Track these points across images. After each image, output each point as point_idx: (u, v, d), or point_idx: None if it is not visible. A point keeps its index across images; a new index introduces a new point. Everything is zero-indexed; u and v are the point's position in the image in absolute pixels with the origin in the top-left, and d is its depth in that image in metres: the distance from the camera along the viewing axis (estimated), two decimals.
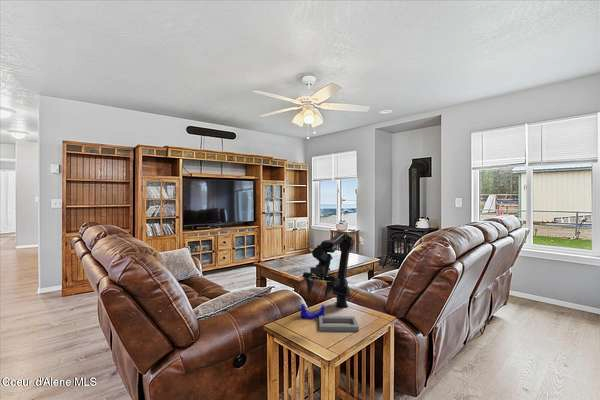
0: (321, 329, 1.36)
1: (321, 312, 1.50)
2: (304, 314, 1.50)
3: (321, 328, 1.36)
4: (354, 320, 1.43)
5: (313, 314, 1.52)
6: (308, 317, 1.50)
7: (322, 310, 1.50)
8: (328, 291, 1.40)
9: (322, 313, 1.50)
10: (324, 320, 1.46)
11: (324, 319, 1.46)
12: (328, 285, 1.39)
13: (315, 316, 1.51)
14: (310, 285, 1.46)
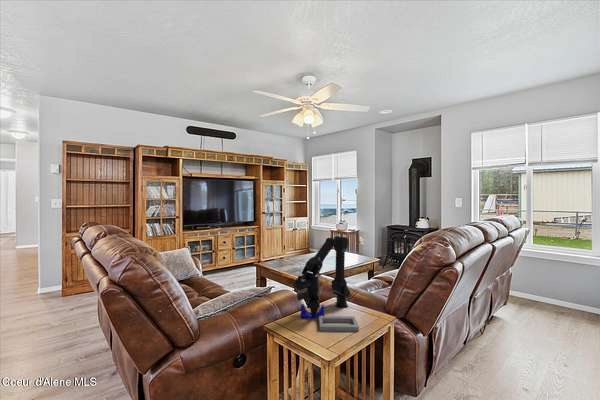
0: (321, 329, 1.36)
1: (321, 312, 1.50)
2: (304, 314, 1.50)
3: (321, 328, 1.36)
4: (354, 320, 1.43)
5: None
6: (308, 317, 1.49)
7: (322, 310, 1.50)
8: (313, 312, 1.48)
9: (322, 313, 1.50)
10: (324, 320, 1.46)
11: (324, 319, 1.46)
12: None
13: (315, 316, 1.51)
14: None
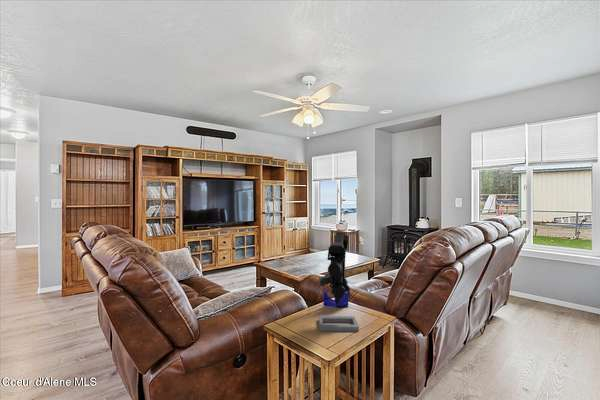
0: (321, 329, 1.36)
1: (345, 299, 1.41)
2: (327, 301, 1.41)
3: (321, 328, 1.36)
4: (354, 320, 1.43)
5: None
6: (331, 304, 1.40)
7: (346, 297, 1.41)
8: (337, 298, 1.39)
9: (346, 300, 1.41)
10: (324, 320, 1.46)
11: (324, 319, 1.46)
12: None
13: (338, 303, 1.42)
14: None
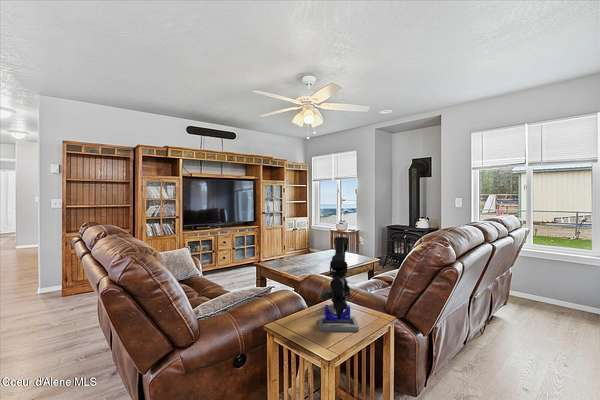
0: (321, 329, 1.36)
1: (347, 313, 1.41)
2: (329, 315, 1.40)
3: (321, 328, 1.36)
4: (354, 320, 1.43)
5: None
6: (333, 318, 1.40)
7: (348, 311, 1.41)
8: (339, 313, 1.39)
9: (348, 314, 1.41)
10: (324, 320, 1.46)
11: (324, 319, 1.46)
12: (335, 308, 1.38)
13: (340, 317, 1.41)
14: None
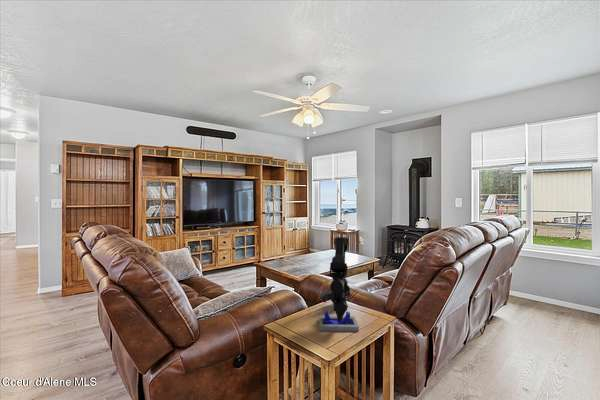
0: (321, 329, 1.36)
1: (346, 319, 1.42)
2: (329, 322, 1.41)
3: (321, 328, 1.36)
4: (354, 320, 1.43)
5: (338, 322, 1.43)
6: None
7: (348, 317, 1.42)
8: (339, 316, 1.37)
9: (348, 320, 1.42)
10: (324, 320, 1.46)
11: (324, 319, 1.46)
12: (335, 311, 1.36)
13: (340, 324, 1.42)
14: None
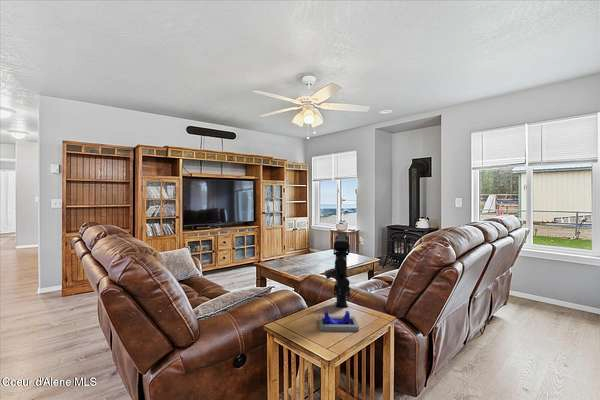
0: (321, 329, 1.36)
1: (346, 319, 1.42)
2: (328, 321, 1.41)
3: (321, 328, 1.36)
4: (354, 320, 1.43)
5: (337, 321, 1.44)
6: None
7: (347, 317, 1.42)
8: (342, 291, 1.48)
9: (347, 320, 1.42)
10: (324, 320, 1.46)
11: (324, 319, 1.46)
12: (339, 287, 1.47)
13: (340, 323, 1.43)
14: None
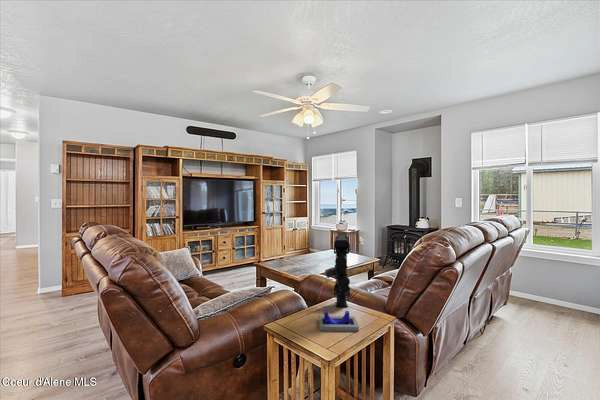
0: (321, 329, 1.36)
1: (346, 318, 1.43)
2: (328, 321, 1.41)
3: (321, 328, 1.36)
4: (354, 320, 1.43)
5: (337, 321, 1.44)
6: None
7: (347, 316, 1.43)
8: (342, 290, 1.48)
9: (347, 319, 1.43)
10: None
11: None
12: (339, 285, 1.48)
13: (339, 323, 1.43)
14: None
